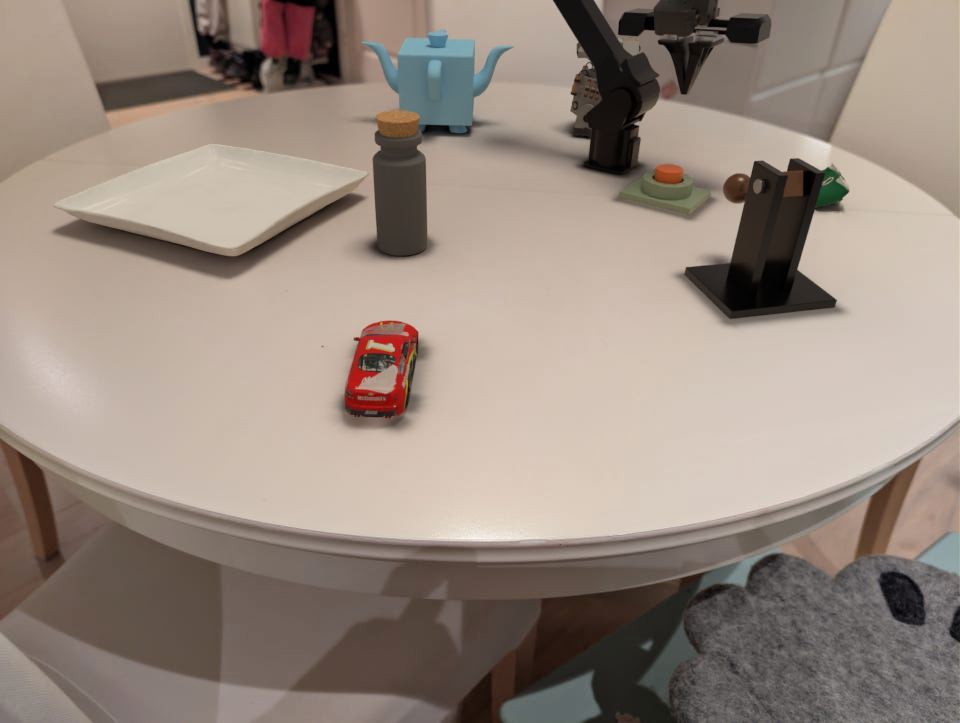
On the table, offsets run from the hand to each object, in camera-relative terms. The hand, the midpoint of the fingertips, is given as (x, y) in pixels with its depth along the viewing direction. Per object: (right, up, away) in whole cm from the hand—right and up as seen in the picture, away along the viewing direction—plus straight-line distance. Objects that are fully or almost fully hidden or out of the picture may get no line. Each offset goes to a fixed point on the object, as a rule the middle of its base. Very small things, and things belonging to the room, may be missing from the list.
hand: (684, 94), depth 101 cm
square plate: (-60, -18, -7) cm, 63 cm away
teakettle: (-35, +5, +28) cm, 45 cm away
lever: (+1, -20, -24) cm, 31 cm away
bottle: (-37, -23, -14) cm, 46 cm away
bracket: (+2, -29, -22) cm, 36 cm away
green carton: (+19, -14, +1) cm, 23 cm away
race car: (-36, -38, -37) cm, 64 cm away
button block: (-3, -14, 0) cm, 15 cm away
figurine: (-7, +3, +26) cm, 27 cm away
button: (-3, -12, -1) cm, 13 cm away
